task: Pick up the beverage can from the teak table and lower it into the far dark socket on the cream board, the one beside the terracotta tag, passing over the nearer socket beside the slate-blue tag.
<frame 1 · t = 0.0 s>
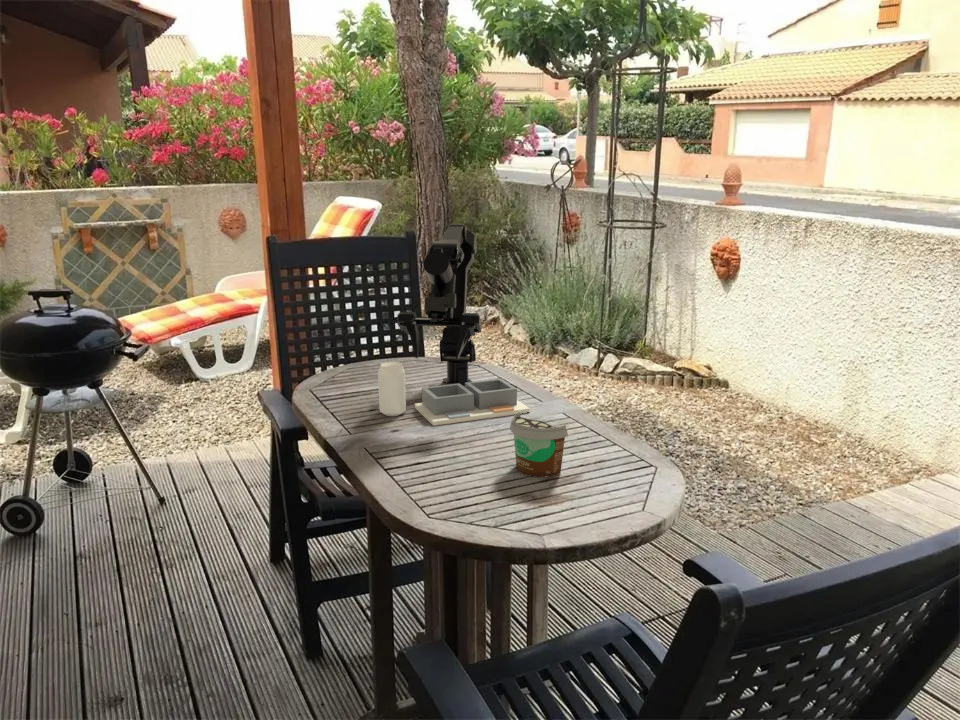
hand: (436, 358, 172), 15 cm above the table, tool tilted 35°, fingers open, 9 cm apart
beverage can: (392, 414, 182), on the table
socket board: (471, 410, 184), on the table
food container: (531, 472, 148), on the table
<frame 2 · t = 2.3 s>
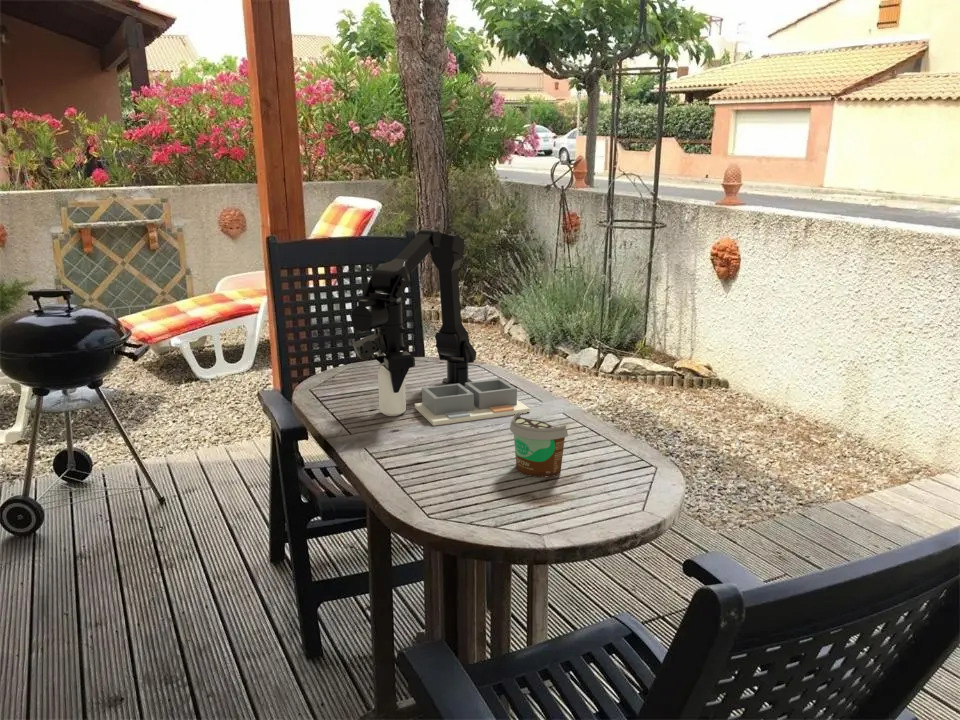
hand: (392, 388, 180), 6 cm above the table, tool pointing down, fingers closed on beverage can, 6 cm apart
beverage can: (393, 413, 182), on the table, touching gripper
everything else where it was.
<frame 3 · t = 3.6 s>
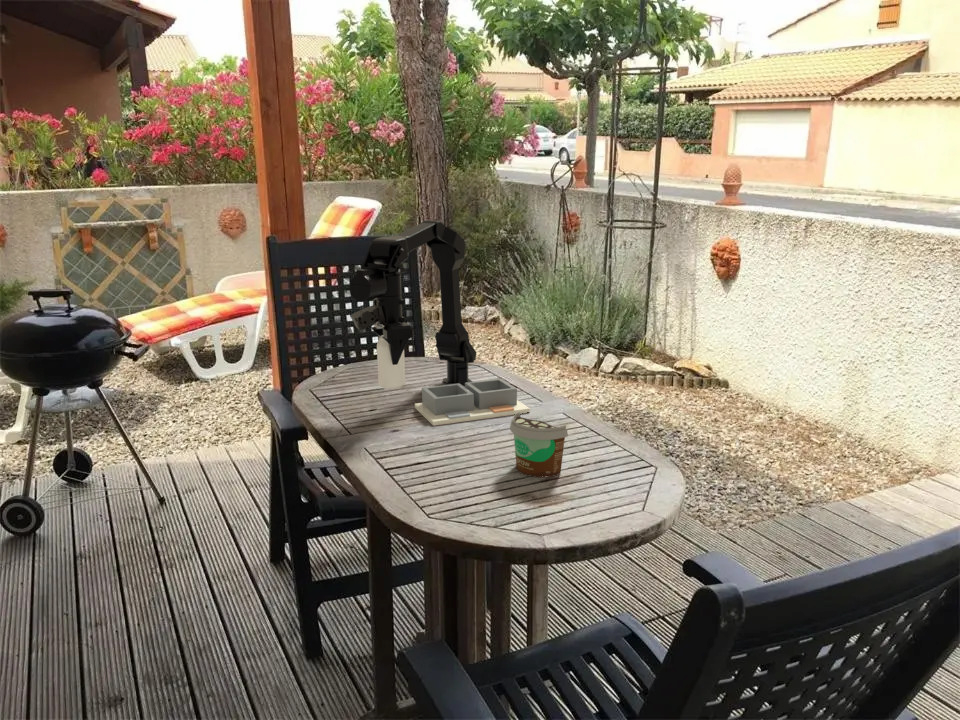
hand: (391, 361, 178), 13 cm above the table, tool pointing down, fingers closed on beverage can, 6 cm apart
beverage can: (392, 387, 180), point 6 cm above the table, touching gripper
everything else where it was.
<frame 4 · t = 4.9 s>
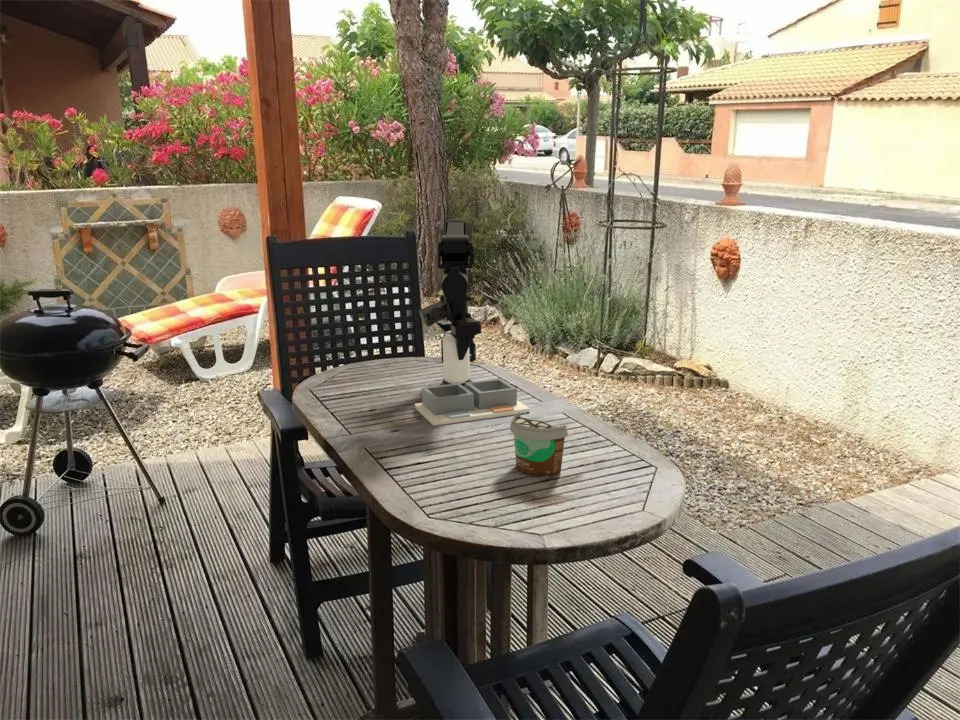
hand: (456, 356, 182), 13 cm above the table, tool pointing down, fingers closed on beverage can, 6 cm apart
beverage can: (456, 382, 183), point 6 cm above the table, touching gripper
everything else where it was.
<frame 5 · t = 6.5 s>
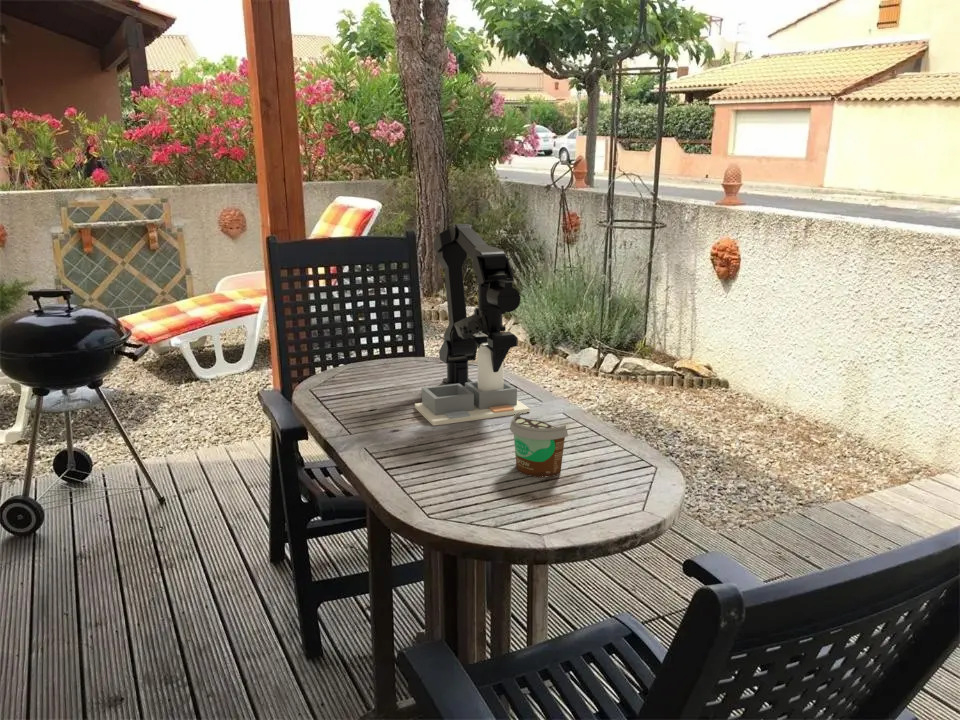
hand: (490, 368, 185), 9 cm above the table, tool pointing down, fingers closed on beverage can, 6 cm apart
beverage can: (490, 393, 186), point 3 cm above the table, touching gripper
everything else where it was.
when the fingers open (7 cm above the table, at t = 7.8 s): beverage can stays where it is, resting on socket board.
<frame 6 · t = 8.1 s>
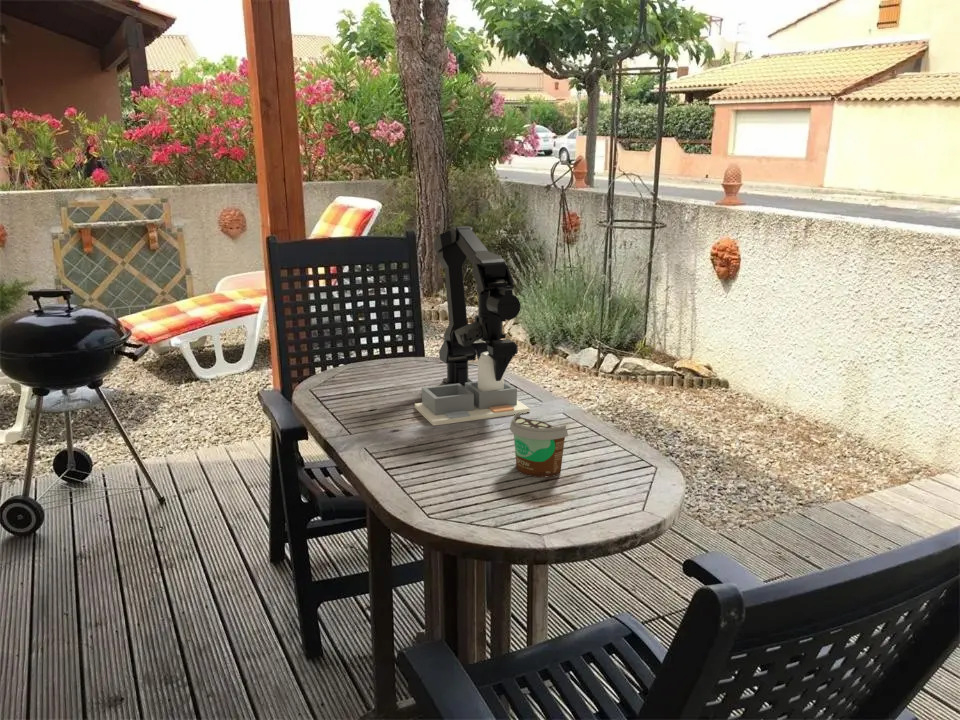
hand: (490, 375, 185), 7 cm above the table, tool pointing down, fingers open, 9 cm apart
beverage can: (490, 402, 187), point 1 cm above the table, touching socket board
everything else where it was.
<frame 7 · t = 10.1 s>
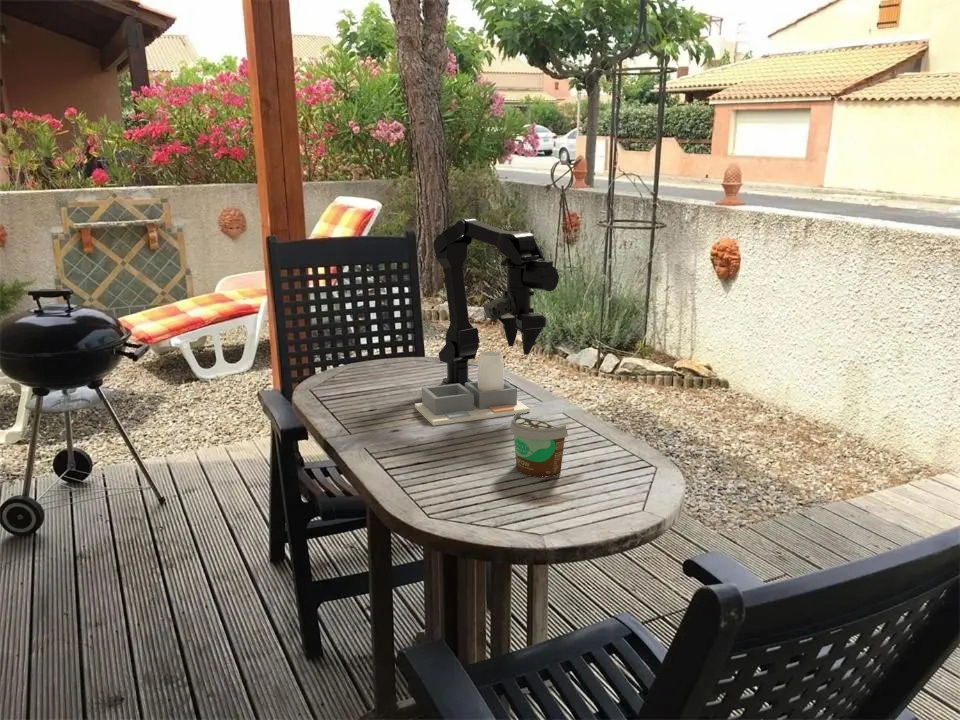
hand: (518, 350, 186), 13 cm above the table, tool pointing down, fingers open, 9 cm apart
nothing on the table moved.
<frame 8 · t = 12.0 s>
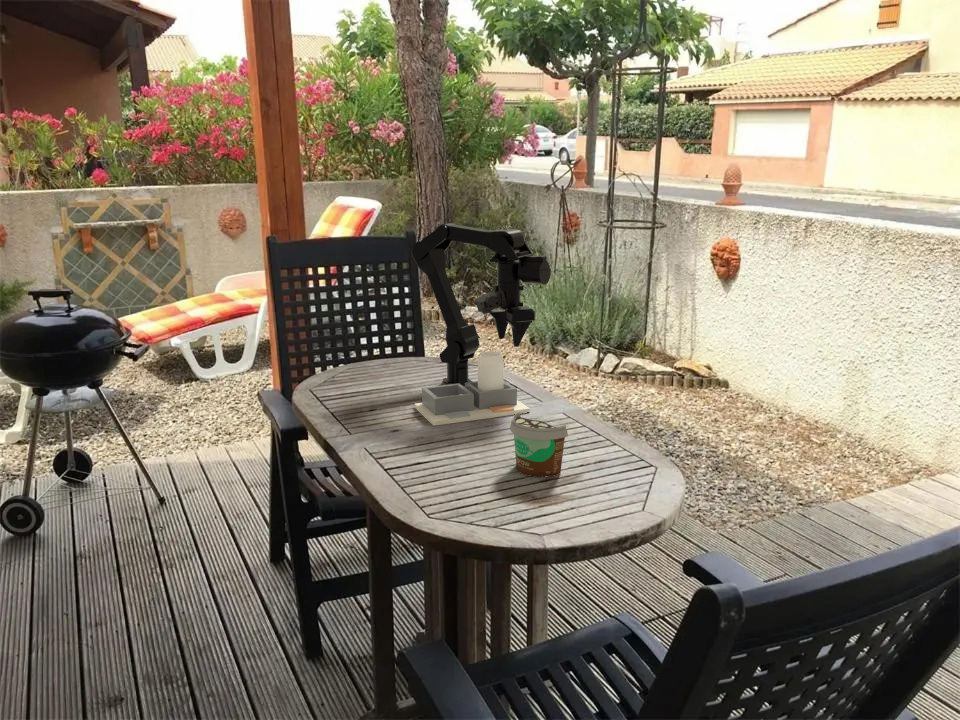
hand: (508, 342, 194), 13 cm above the table, tool pointing down, fingers open, 9 cm apart
nothing on the table moved.
at the end: beverage can 0.3 cm from the target spot on the socket board, point 0.8 cm above the socket board's base; beverage can tilted 0°; the gripper is holding nothing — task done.
